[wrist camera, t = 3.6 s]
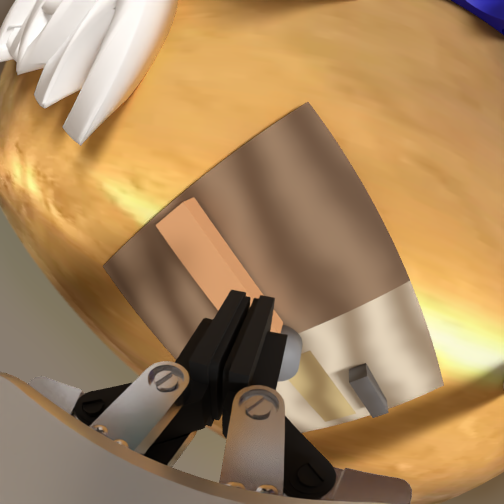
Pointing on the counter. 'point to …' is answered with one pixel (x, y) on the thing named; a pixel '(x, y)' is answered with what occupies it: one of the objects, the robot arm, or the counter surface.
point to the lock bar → (219, 269)
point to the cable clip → (486, 11)
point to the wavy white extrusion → (86, 51)
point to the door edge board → (298, 274)
